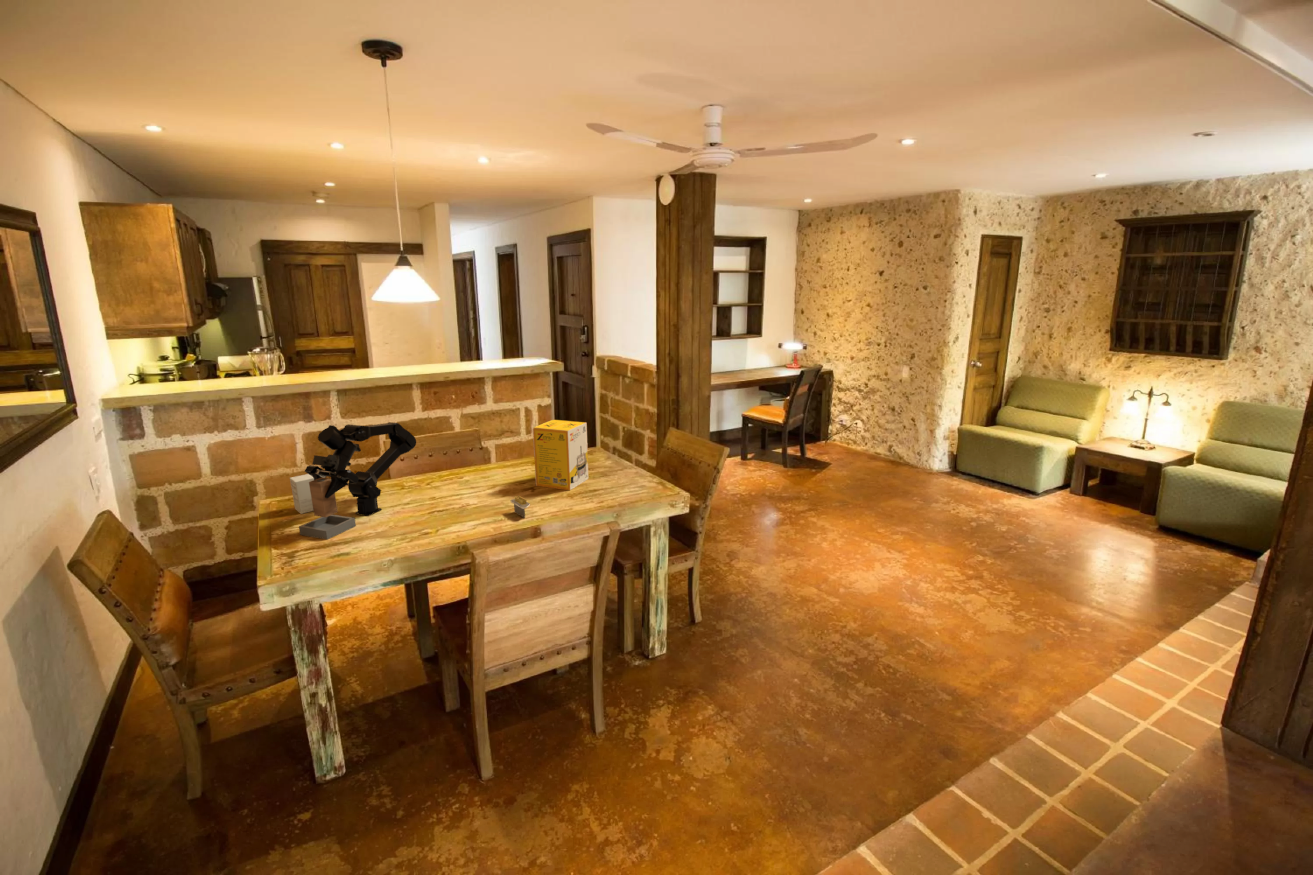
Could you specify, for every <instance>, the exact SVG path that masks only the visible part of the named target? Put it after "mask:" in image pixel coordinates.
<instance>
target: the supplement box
mask: <svg viewBox="0 0 1313 875" xmlns="http://www.w3.org/2000/svg"><path fill="white" fill-rule="evenodd" d="M313 480H314V478H313V477H312V476H311V475H309V474H308V473H306V474H302V475H296V476H293V477H289V482H290V487H291V492H292V499H293V505H294V506H293V507H294V509H295V510H296V511H297V512H298V513H300V514H301V515H302V514H307V513H311V512H314V510H313V504H312V498H311V492H310V486H309V482H310V481H313Z"/></svg>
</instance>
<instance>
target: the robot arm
mask: <svg viewBox="0 0 1313 875" xmlns="http://www.w3.org/2000/svg"><path fill="white" fill-rule="evenodd" d="M382 435H383V436H384V435H387V436H388V439H389V440H390V442H389V447H388V449H386V450H385V452H384V453H383V454H382V455H380V456H379V458H378V459H377V460H375V462H374V463H373V464H372V465H371V466H370V467H368V469H367V470H366V471H357V472H353V471H352V470H351V469H346V468H347V467H351V465H352V463H351V462H350V461H351V459H352V457H353V455H354V453H355V452H357V453H358V452H359V453H360V452H361V447H360V444H358V443H355V442H361V443H362V442H363V441H366V440H369V439H370V438H372V437H375V436H382ZM317 440H318V441H319V442H320V443H321V444H323V445H324V446H326V448H328V449H330V450H332V451H333V453H332V454H328V455H327V456H323V455H316V454H315V455H314V456H313V460H312V464H311V465H308V466H306V468H305V469H304V472H305V473H306V474H309V475H311V476H312V477H313V478H314V480H316V479H319V478H328V477H329V478H330V479H331V484H330V486H329V488H328V490H327V492H326V494H325V498H329V497H330V496H331V495H333V494H334V493H335V494H336V493H337V492H338V491H340V490H341V489H343V488H344V487H346V486H347V487H348V491H349V493H350V494H351V496H352V498H356V507H357V508H356V509H357V511H355V515H360V516H361V515H362V516H371V515H374V514H376V513H378V512H380V511H382V508H381V507H379V504H378V497H380V496H381V492H382V490H381V488H379V487H377V485H378V479H380V477H381V476H382V475H384V473H385V472H386V471H387V470H388V469H389V468H390V467H391V466H392V465H393V464H394V463H395V461H397V460H398V459H399V457H401V456H402V455H404V454H406V453H409V452H411V451H412V450H413V449H414V448H416V445H417V440H416V437H415V436H414V435H413V434H412V433H411V432H410V431H409V430H407V429H405V428H404V427H403V426H402V425H401V424H400V423H398V422H386V423H379V424H370V425H360V424H358V425H357V424H345V425H344V427H343V428H341V429H338V427H336V426H335V425H332V424H331V425H330V424H329V425H328V427H326V428H324V429H323V430H322V431H320V432H319V434H318V436H317Z"/></svg>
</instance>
